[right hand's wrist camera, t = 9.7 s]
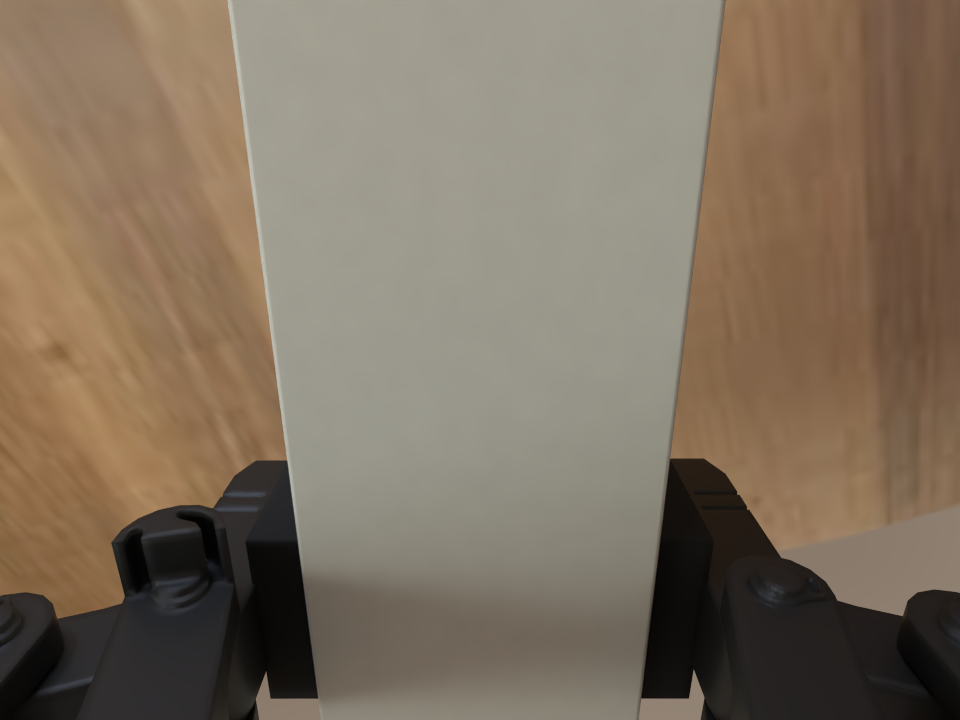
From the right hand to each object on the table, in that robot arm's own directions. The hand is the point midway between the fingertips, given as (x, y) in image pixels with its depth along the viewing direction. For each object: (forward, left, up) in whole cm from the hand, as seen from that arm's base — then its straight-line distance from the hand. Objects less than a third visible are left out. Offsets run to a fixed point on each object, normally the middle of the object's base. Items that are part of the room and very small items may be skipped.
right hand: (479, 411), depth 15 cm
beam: (+20, -4, -1) cm, 21 cm away
